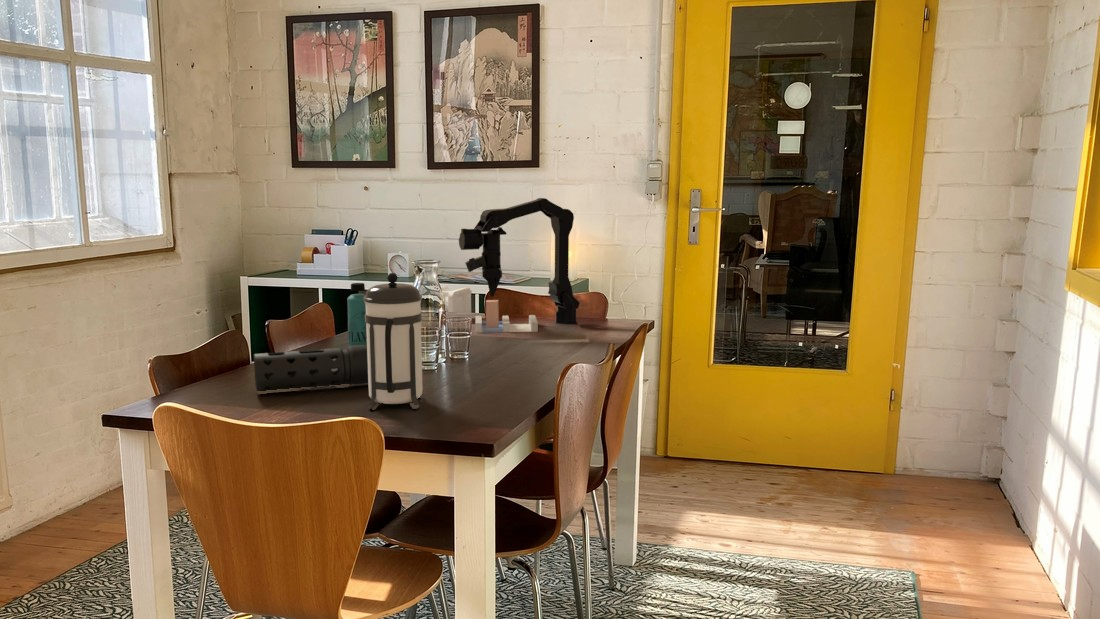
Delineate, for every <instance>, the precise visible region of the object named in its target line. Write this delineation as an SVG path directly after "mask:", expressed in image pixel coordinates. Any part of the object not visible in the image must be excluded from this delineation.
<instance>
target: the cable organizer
mask: <svg viewBox="0 0 1100 619" xmlns="http://www.w3.org/2000/svg"><path fill="white" fill-rule="evenodd" d="M440 287H441V288H442V291H443V296H444V302H445V311H446V312H457V313H471V314H472V290H471V288H470V287H461V288H457V289H454V290H449V287H448V286H447V285H446V286H445V285H443V286H440Z"/></svg>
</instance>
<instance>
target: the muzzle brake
mask: <svg viewBox="0 0 1100 619" xmlns="http://www.w3.org/2000/svg"><path fill="white" fill-rule="evenodd" d="M253 366H254V367H253V368H254V370H253V371H254V382H255V391H266V390H277V389H289V388H301V387H317V386H329V385H341V384H351V385H352V384H355V385H364V384H365V383H366V384H368V357H367V346H366V345H356V346H349V345H348V346H347V347H346V348H345V349H342V348H341V347H333V348H330V347H329V348H322V349H320V348H319V349H312V350H311V349H309V350H308V349H307V350H289V351H281V352H280V351H278V352H263V353H262V352H261V353H254V354H253Z"/></svg>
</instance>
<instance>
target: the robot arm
mask: <svg viewBox="0 0 1100 619" xmlns="http://www.w3.org/2000/svg"><path fill="white" fill-rule="evenodd" d="M538 212H541V213H542V214H543V215H544V216H546V217H547V218H549V219H550V223H551V228H552V231H553V234H554V277H553V280H552V281H548V292H547V293H548V295H549V298H550V299H551V300H552V302H553V303H554V305H555V307H556V311H555V320H554V321H555V324H557V325H559V324H562V325H571V324H576V323H577V309H579V306H580V301H579V300H578V299H577V298H575V296H574V293H573V286H572V284H571V281H570V277H569V266H570V265H569V260H570V259H569V258H570V257H569V255H570V252H569V248H570V247H569V246H570V245H569V244H570V243H569V241H570V240H569V239H570V237H569V236H570V234H571V232H572V229H573V225H574V219H575V216H574V213H573V211H572V210H570V209H568V208H563V207H561V206H559V205H557V204H555V203H554V202H552V201H550V200H549V199H547V198H544V197H538V198H536V199H533V200H530V201H527V202H524V203H520V204H516V205H513V206H509V207H506V208H492V209H485V210H483V211H482V212H481V214H480V219H479V220H478V223H477V224H476V225H475V226H474V228H461V229H460V234H459V238H458V245H459V248H460V250H461V251H467V250H468V251H469V250H471V251H472V250H480V249H481V248H482V252H481V256H477V257H472V258H469V259H468V260H467V261H465V266H466V268H467V271H468V273H470V272H473V271H474V270H475V271H476V270H477V269H480V268H481V273H482V278H483V279H484V280H486V282H487V286H488V290H489V296H490V297H495V294H496V291H497V289H498V286H499V284H500V282H501V279H502V277H503V271H502V267H501V266H502V265H501V262H502V260H501V255H502V254H501V252H502V251H501V236H502V235H504V236H506V235H507V232H506V231H505V230H504V229H503V225H506V224H507V223H508V222H509V221H512V220H515V219H518V218H521V217H525V216H528V215H532V214H535V213H538Z"/></svg>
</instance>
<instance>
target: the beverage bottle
mask: <svg viewBox="0 0 1100 619" xmlns="http://www.w3.org/2000/svg"><path fill="white" fill-rule="evenodd" d="M365 286H366V285H365V283H364V282H353V283H351V284H350V291H351V292H364V291H366V287H365ZM364 296H366V293H365V294H364V293H354V294H353V293H352V294H350V295H349V296H348V297H347V298H346V299H347V300H346V301H347V336H348V337H347V338H348V339H347V340H348V342H347V344H348V347H349V346H356V345H366V346H367V329H366V322H365V313H366V304H365V302H364Z"/></svg>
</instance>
